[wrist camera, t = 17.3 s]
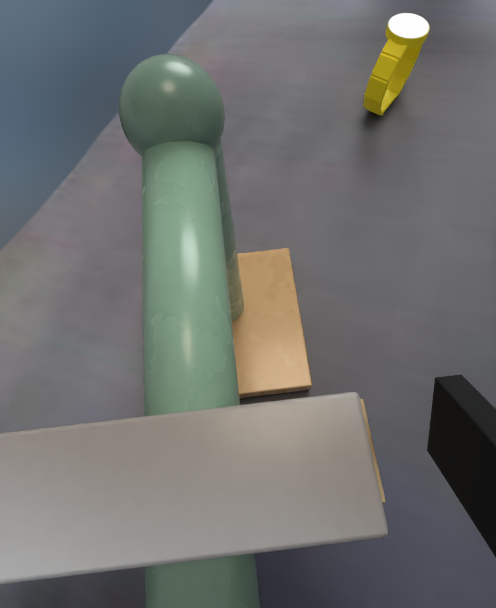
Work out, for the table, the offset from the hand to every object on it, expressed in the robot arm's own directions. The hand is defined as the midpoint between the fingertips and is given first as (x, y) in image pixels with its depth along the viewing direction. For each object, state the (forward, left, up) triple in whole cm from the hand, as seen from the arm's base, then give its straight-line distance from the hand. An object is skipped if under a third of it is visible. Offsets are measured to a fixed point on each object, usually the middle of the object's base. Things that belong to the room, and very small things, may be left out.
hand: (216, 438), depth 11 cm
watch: (-27, -10, -11) cm, 31 cm away
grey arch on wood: (+1, +1, -7) cm, 7 cm away
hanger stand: (-2, -3, -11) cm, 12 cm away
